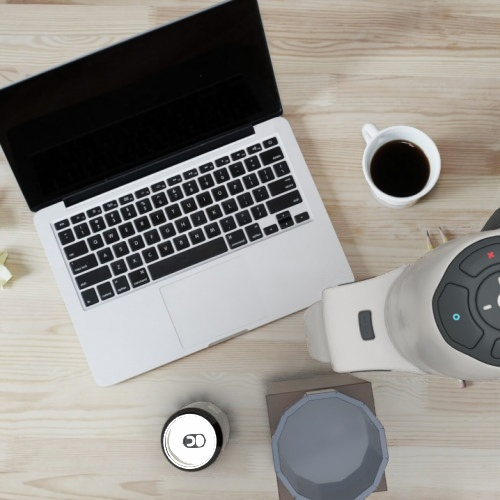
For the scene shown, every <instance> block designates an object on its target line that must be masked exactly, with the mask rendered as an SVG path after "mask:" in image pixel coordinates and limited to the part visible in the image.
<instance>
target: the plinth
mask: <svg viewBox="0 0 500 500" xmlns="http://www.w3.org/2000/svg"><path fill="white" fill-rule="evenodd" d="M372 385H373V384H372V381H369V380H366V379H363V378H361V377H357V376H354V375H351V374H348V373H346V372H344V373H332V374H325V375H318V376H317V375H315V376H309V377H302V378H293V379H287V380H279V381H271V382H270V385H269V387H268V389H267V392H266V394H265V401H266V408H267V409H266V410H267V416H268V424H269V432H270V439H271V441H272V434H273V431H274V429H275V426H276V424H277V421H278V419H279V416H280V414H281V411H282V409H283V408H284V407H285V406H287V405H288V404H289V403H290V402H292V401H293V400H294V399H296V398H297V397H298V396H299V395H301V394H302V393H303V392H305V391H311V390H319V389H327V388H334V389H336V390H339V391H341V392H344V393H346V394H348V395H351V396H353V397H355V398H358V399H359V400H361V401H363V402H364V403H365V404H366V405H367V406H368V407H369V409H370V410H371V411H372V412H373V414H374V415H375V416H376V418H377V419H378V417H377V410H376V405H375V399H374V392H373V386H372ZM275 477H276V484H277V492H278V500H295V498H293V497H292V496H291V494H290V493H289V491H288V490H287V489H286V487H285V486H284V485H283V483H282V482H281V481H280V479H279V478H278V477H277V475H276V474H275ZM381 492H388V483H387V477H386V470H385V471H384V474H383V476H382V479H381V482H380V484H379V487H378V488H377V489H376V490H375V491H374V492H373V493H372V494H374V493H381Z"/></svg>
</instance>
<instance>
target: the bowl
mask: <svg viewBox="0 0 500 500" xmlns="http://www.w3.org/2000/svg"><path fill="white" fill-rule="evenodd" d="M376 417H377V415H376V416H375V415H374V414H373V412H372V411H371V410H370V409H369V407H368V406H367V405H366V404H365V403H364V402H363V401H361V400H359V399H358V398H355V397H353V396H351V395H348V394H346V393H344V392H341V391H339V390H336V389H334V388H327V389H319V390H311V391H305V392H303V393H302V394H301V395H299V396H298V397H297V398H296V399H294V400H293V401H292V402H290V403H289V404H288V405H287V406H285V407H284V408H283V409H282V411H281V414H280V416H279V419H278V421H277V424H276V426H275V429H274V431H273V434H272V440H271V443H270V444H271V453H272V460H273V469H274V474H275V476H276V475H277V477H278V478H279V479H280V481H281V482H282V483H283V485H284V486H285V487H286V489H287V490H288V491H289V493H290V494H291V496H292V497H293V498H295V500H366V499H367V498H368V497H369V496H370V495H372V494H374V493H373V492H374V491H375V490H376V489H377V488H378V487H379V484H380V482H381V479H382V476H383V474H384V471H385V472H386V469H387V466H388V463H389V461H390V460H389V459H390V457H389V450H388V449H389V448H388V443H387V436H386V429H385V427H384V425H383V424H382V423H381V421H380V420H379V419H378V417H377V418H376Z"/></svg>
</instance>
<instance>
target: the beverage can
mask: <svg viewBox="0 0 500 500" xmlns="http://www.w3.org/2000/svg"><path fill="white" fill-rule="evenodd" d="M230 429H231V427H230V421H229V419H228V417H227V415H226V413H225V412H224V411H223V409H221V408H220V407H219V406H218V405H216V404H214V403H212V402H208V401H196V402H192V403H189V404H187V405H185V406H183V407H182V408H180V409H178V410H176V411H174V412H173V413H172V414H171V415H170V416H169V417H168V418H167V419H166V421H165V422H164V424H163V426H162V428H161V433H160V448H161V451H162V454H163V456H164V458H165V459H166V460H167V462H168V463H169V464H170V465H171V466H172V467H174V468H176V469H177V470H180V471H183V472H186V473H197V472H201V471H203V470H206V469H208V468H210V467H211V466H212V465H214V464H215V462H216V461H217V460H218V459H219V457H220V456H221V454H222V453H223V451H224V449H225V448H226V446H227V444H228V441H229V438H230V431H231V430H230Z"/></svg>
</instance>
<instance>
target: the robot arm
mask: <svg viewBox="0 0 500 500" xmlns="http://www.w3.org/2000/svg"><path fill="white" fill-rule="evenodd" d="M303 325H304V326H303V327H304V333H305V340H306V347H307V351H308V355H309V357H310V358H311V359H312V360H314V361H315V362H319V363H322V364H329V365H331V368H332V371H333V372H335V373H337V374H339V373H350V374H356V373H368V372H371V373H373V372H387V373H388V372H389V373H390V372H393V371H397V372H404V373H410V374H413V375H418V376H427V375H432V376H437V377H443V378H449V379H450V378H451V379H455V380H459V381H467V382H493V381H500V207H498V208H497V209H496V210H495V211H494V212H493V213H492V214H491V216H490V217H488V219H487V220H486V222H485V224H484V225H483V227H482V228H481V230H480V231H479V232H474V233H468V234H465V235H461V236H458V237H455V238H453V239H450V240H447V241H445V242H443V243H441V244H439V245H437V246H435V247H434V248H432V249H430V250H429V251H427V252H426V253H425V254H423V255H422V256H421V257H420V258H418V259H416V260H415V261H413V262H412V263H411V264H410V263H403V264H402V265H400V266H398V267H395V268H394V269H392V270H390V271H388V272H385V273H383V274H380V275H378V276H377V275H375V276H371V277H367V278H363V279H358V280H356V281H349V282H345V283H340V284H337V285H334V286H330V287H329V286H328V287H327V288H324V289H323V290H322V291H321V300H318V301H315V302H313V303H312V304H311V305H310V306H309V307H308V308H307V309H306V310H305V312H304V314H303Z"/></svg>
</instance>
